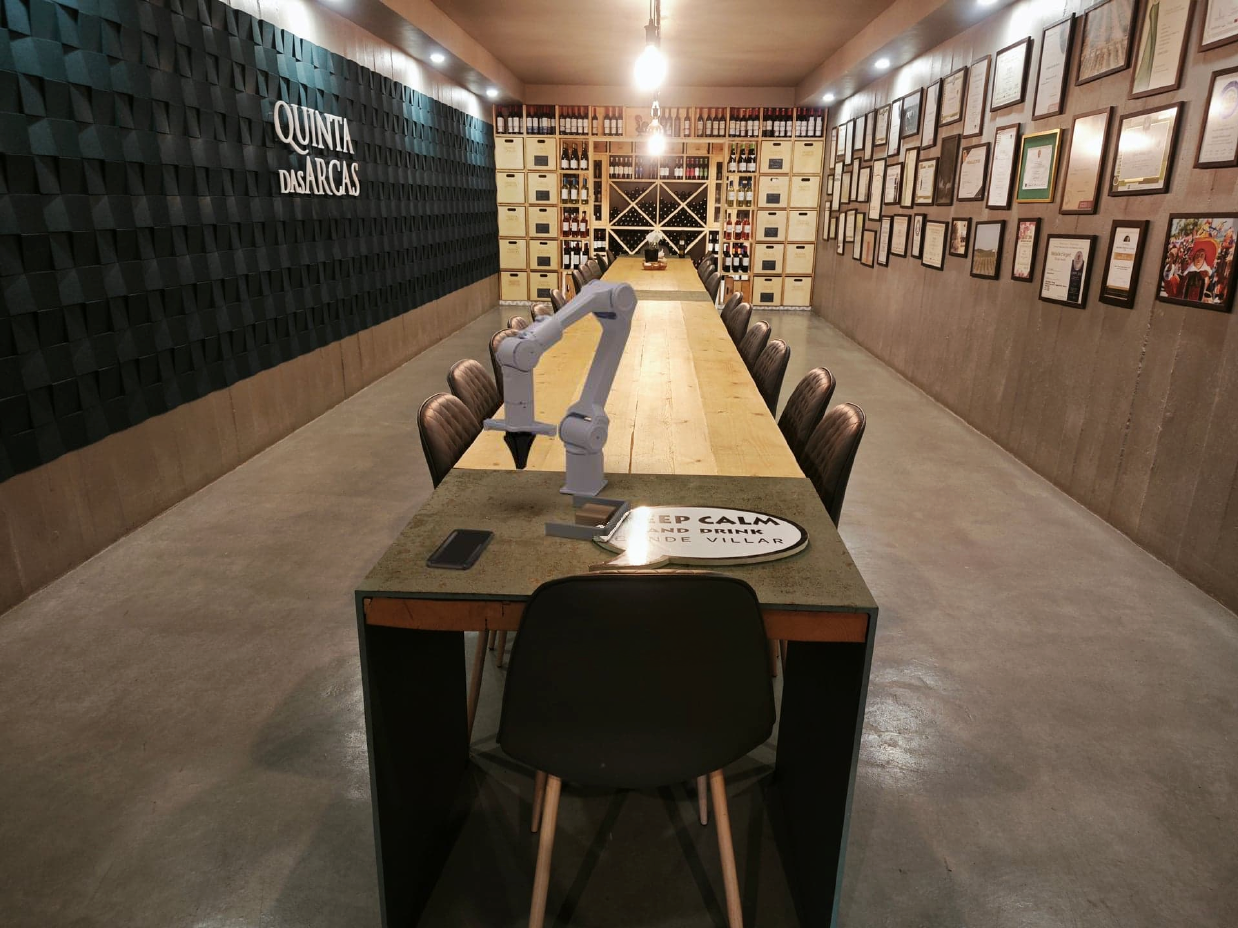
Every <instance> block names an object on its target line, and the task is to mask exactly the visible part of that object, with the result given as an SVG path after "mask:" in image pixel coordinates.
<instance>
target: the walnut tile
mask: <svg viewBox="0 0 1238 928" xmlns="http://www.w3.org/2000/svg"><path fill="white" fill-rule="evenodd" d="M616 513H617V512H616V507H610V506H602V505H595V504H587V503H586V504H585V505H584V506H583V507H582V508H579V510H578V511H577V512H576V513H575V514H574V516H575V517H574V518H575V519H574V524H576V525H584V526H592V527H596V526H598V525H603V526H606V525H607V523H608V522H609V521H610V520H611V519H612V518H613V516H614V515H615V514H616Z"/></svg>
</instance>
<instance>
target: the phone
mask: <svg viewBox="0 0 1238 928" xmlns="http://www.w3.org/2000/svg"><path fill="white" fill-rule="evenodd" d="M494 538H495V532H494V531H491V530H481V529H471V528H470V529H468V528H467V529H466V528H455V529H453V531H451V532H450V534H449V535H448V536H446V538H445V539H444V540H443V542H442V543H440V545H439V546H438V547H437V548H436V549H435V550H434V552H432V554H431V555H430V556H429V557H428V558H426V561H425V563H426V564H425V565H426V567H427V568H429V569H430V568H431V569H440V570H441V569H444V570H457V571H467V570H470V569H471V568H473V566H474V565H475V563H476V562H477V561H478V560H479V558H480V557H481V556H482V554H483V553H484V551H485V550H486V549H487V548H488V546H489V545H490V543H491V542H492V541H493V540H494Z"/></svg>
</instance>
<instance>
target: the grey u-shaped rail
mask: <svg viewBox="0 0 1238 928" xmlns="http://www.w3.org/2000/svg"><path fill="white" fill-rule="evenodd" d="M586 503H587V504H595V505H602V506H610V507H616V514H615V515H614V516H613V518H612V519H611V520H610V521H609V523H608V524H607V525H606V526H605V527H604V528H600V527H592V526H584V525H576V524H575V523H568V522H560V521H551V520H546V521H545V535H546V536H551V537H559V538H566V539H573V540H580V541H590V542H593V541H592V539H593V538H594V536H597V535H599V536H608V535H609V534H610V532H611V531H612V530H613V529H614V528H615V527H616V525H617V523H618V522H619V521H620V520H621V518H622V517H623V515H624V514H625V513H626V512H628V511H630V510H632V509H631V504H632V503H631V499H630V500H629V499H620V498H612V497H604V496H587V495H578V494H572V508H577V509H581V508H582V507H583V506H584V505H585V504H586Z"/></svg>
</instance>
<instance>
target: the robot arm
mask: <svg viewBox="0 0 1238 928" xmlns="http://www.w3.org/2000/svg"><path fill="white" fill-rule="evenodd" d="M638 301H639V300H638V299H637V295H636V292H635V290H634V288H633V286H632V285H631V284H630V283H628V282H625V281H624V282H617V281H616V282H615V281H608V280H600V279H592V280H590V281H589V282H587V284H584V285H582V286H581V287H580V292H578V294H576V295H575V296H573V298H572V299H571V300H569V301H568V302H567V303H565V305H564V306H562V307H561V308H560V309H559V310H558V311H557V312H556V313H554V314H553V315H552V316H551V315H549V314H544V315H540V314H539V315H537V316H536V317H535V318H534V322H532V323H531V324H529V325H528V326H527V327H526V328H524V329H520V330H519V331H517V334H516V335H515V337H514V336H508V337H505V338H504V339H503V340H502V341H501V342H500V343H499V345H498V348H497V351H496V352H495V353H494V354H495V359H496V361H497V363H498V364H499V365H500V368H501V373H502V382H503V405H504V406H503V407H504V418H486V419H485V420H483V431H487V432H490V431H497V432H505V433H504V435H503V442H505V444H506V446H507V448H508V450H509V451H510V453H511V457H512V459H513V462H514V463H513V464H514V465H515V470H521V471H522V470H524V469H525V468H527V464H528V458H529V455H530V451H531V449H532V446H533V443H534V441H535V440H536V438H537V436H538V435H540V436H547V437H549V438H553V437H554V438H555V436H558V439H559V440H560V441H561V442H562V443H563V448H564V449H565V485H563V487H561V488H560V489H559V493H561V494H571V495H574V494H578V495H587V496H595V497H597V495H598V494H599V492H600V491H602V489H604V487H605V486H606V485H607V484H609V483H608V482H609V481H608V479H607V480H606V479H605V473H604V472H605V466H604V465H605V455H604V452H603V448H604V447H605V446H606V444H607V441H608V435H609V434H608V433H609V426H610V423H611V420H610V418H609V416H608V414H607V413H606V411H605V408H606V407H605V406H606V404H607V400H608V399H609V398H608V397H609V396H610V395H609V394H610V392H611V389H612V386H613V384H614V381H615V377H616V374H617V372H618V368H619V366H620V362H621V360H622V357H623V354H624V352H625V348H626V345H627V342H628V340H629V339H628V338H629V337H630V333H631V329H632V320H633V316H634V313H635V311H636V307H637V304H638ZM589 314H592V315H593V317H594V318H595V319H596V321H597V322H598V323H599V324H600V326H601V329H602V332H601V336H600V338H599V342H598V344H597V348H596V350H595V353H594V356H593V358H592V361H591V365H590V367H589V370H588V374H587V376H586V380H585V382H584V385H583V388H582V392H581V394H580V397H579V399H578V401H576V402H575V403H573V404H572V405H570V406H568V408H567V411H566V413H565V415H564V417H562V419H561V420H560V421H559V423H558V426H557V424H550V423H548V422H547V423H546V422H543V421H542V422H541V421H537V420H535V419H536V418H535V390H534V389H535V387H534V381H535V380H534V369H535V368H536V367H537V365H538V364H539V362H540V358H541V357H542V356H543V354H544V353H545V352H548V350H549V349H551V348H552V347H553V346H555V345H556V344H558V343H559V342H560V341H561V340H562V339H563V335H564V331H565V330H566V329H568V328H569V327H571V326H572V325H574V324H575V323H577V322H579V321H580V320H582V319H583V318H584V317H586V316H587V315H589ZM557 434H558V435H557Z"/></svg>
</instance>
